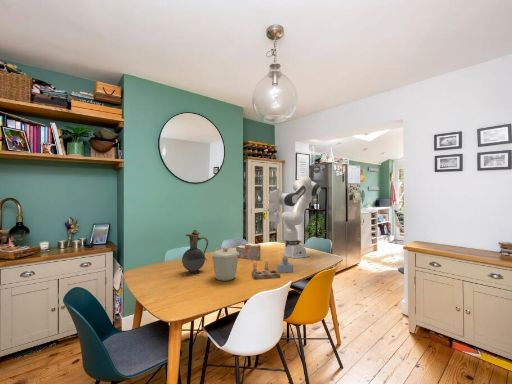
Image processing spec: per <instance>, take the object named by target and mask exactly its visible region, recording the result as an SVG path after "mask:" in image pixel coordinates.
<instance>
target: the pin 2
mask: <svg viewBox="0 0 512 384" xmlns="http://www.w3.org/2000/svg"><path fill="white" fill-rule="evenodd" d="M264 271H269V259H264Z"/></svg>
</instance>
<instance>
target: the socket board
mask: <svg viewBox="0 0 512 384" xmlns="http://www.w3.org/2000/svg"><path fill="white" fill-rule="evenodd" d="M251 277H252V279H253V280H265V279H278V278H279V279H280V278H281V273H279V272H278V271H277V269H273V270H269V269H268V270H259V271H258V270H257V271H251Z"/></svg>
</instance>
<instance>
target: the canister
mask: <svg viewBox="0 0 512 384" xmlns="http://www.w3.org/2000/svg"><path fill="white" fill-rule="evenodd" d="M238 255H239V252H237V251H236V249H232V248H231V249H230V248H229V247H228V246H223V248H222V249H217V250H215V251H214V252H212V253H211V256H212V261H213V271H214V277H215V278H216V279H217V280H218V281H223V282H225V281H231V280H234V279H235V278H236V275H237V269H238V259H239V257H238Z"/></svg>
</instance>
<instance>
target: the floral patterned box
mask: <svg viewBox="0 0 512 384" xmlns="http://www.w3.org/2000/svg"><path fill="white" fill-rule="evenodd" d="M235 247H236V249H235V251H237V252H239V255H238V259H239V258H241V259H246V260H250V261H257V262H258V261H259V260H261V244H257V243H251V242H248V243H246V244H244V245H240V244H239V245H237V246H235Z"/></svg>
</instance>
